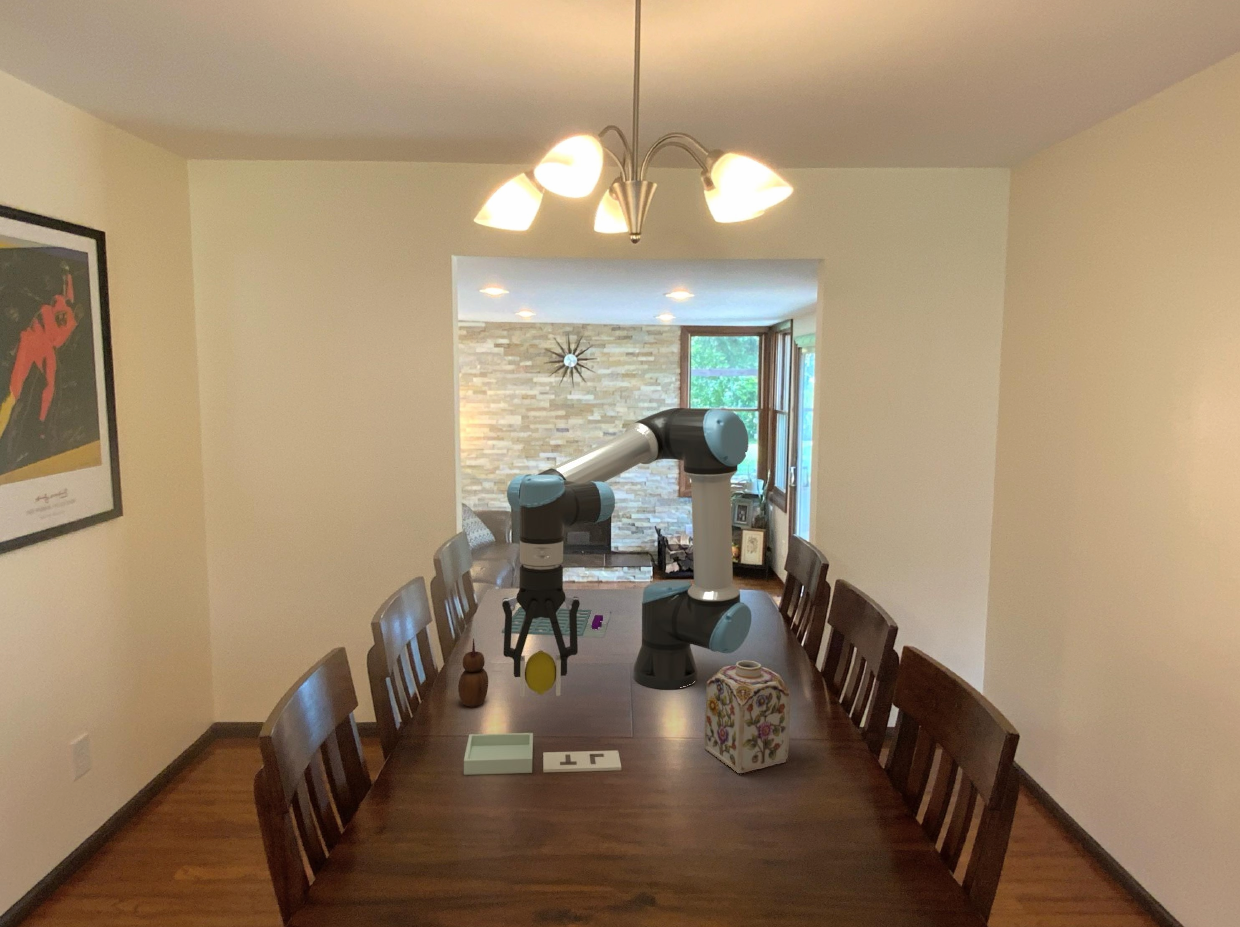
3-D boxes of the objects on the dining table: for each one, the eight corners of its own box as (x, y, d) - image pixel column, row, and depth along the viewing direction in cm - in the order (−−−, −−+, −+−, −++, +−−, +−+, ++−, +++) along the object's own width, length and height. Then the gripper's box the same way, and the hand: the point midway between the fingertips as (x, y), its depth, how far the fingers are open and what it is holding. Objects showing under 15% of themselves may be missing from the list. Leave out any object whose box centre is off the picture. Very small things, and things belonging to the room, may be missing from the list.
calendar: (521, 608, 243) (521, 600, 243) (612, 611, 241) (612, 604, 240) (501, 635, 216) (501, 627, 216) (603, 640, 214) (603, 631, 213)
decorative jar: (737, 776, 138) (741, 679, 137) (701, 749, 149) (704, 658, 147) (790, 763, 144) (794, 669, 142) (752, 737, 154) (755, 649, 152)
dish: (532, 745, 148) (532, 732, 148) (532, 772, 138) (532, 758, 138) (469, 747, 147) (469, 734, 147) (463, 774, 137) (463, 760, 137)
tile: (617, 753, 146) (617, 749, 146) (621, 770, 140) (621, 766, 140) (543, 755, 145) (543, 751, 144) (543, 772, 138) (543, 768, 138)
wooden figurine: (480, 711, 164) (480, 642, 162) (454, 708, 165) (454, 639, 163) (491, 698, 170) (492, 632, 169) (467, 696, 171) (467, 630, 170)
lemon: (524, 688, 139) (525, 645, 138) (555, 688, 140) (556, 645, 139) (524, 701, 134) (524, 656, 133) (556, 700, 134) (557, 655, 134)
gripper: (486, 570, 129) (486, 703, 132) (596, 568, 132) (594, 700, 134) (488, 560, 137) (487, 686, 139) (592, 559, 139) (590, 683, 142)
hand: (540, 693), depth 137 cm, fingers closed on lemon, 5 cm apart
